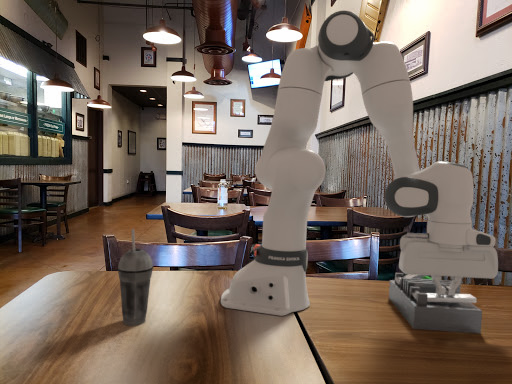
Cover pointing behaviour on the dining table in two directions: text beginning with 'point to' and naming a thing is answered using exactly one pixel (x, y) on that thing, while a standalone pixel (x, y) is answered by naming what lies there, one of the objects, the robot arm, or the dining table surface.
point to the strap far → (408, 277)
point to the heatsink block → (433, 307)
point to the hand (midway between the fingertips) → (445, 295)
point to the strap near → (448, 298)
